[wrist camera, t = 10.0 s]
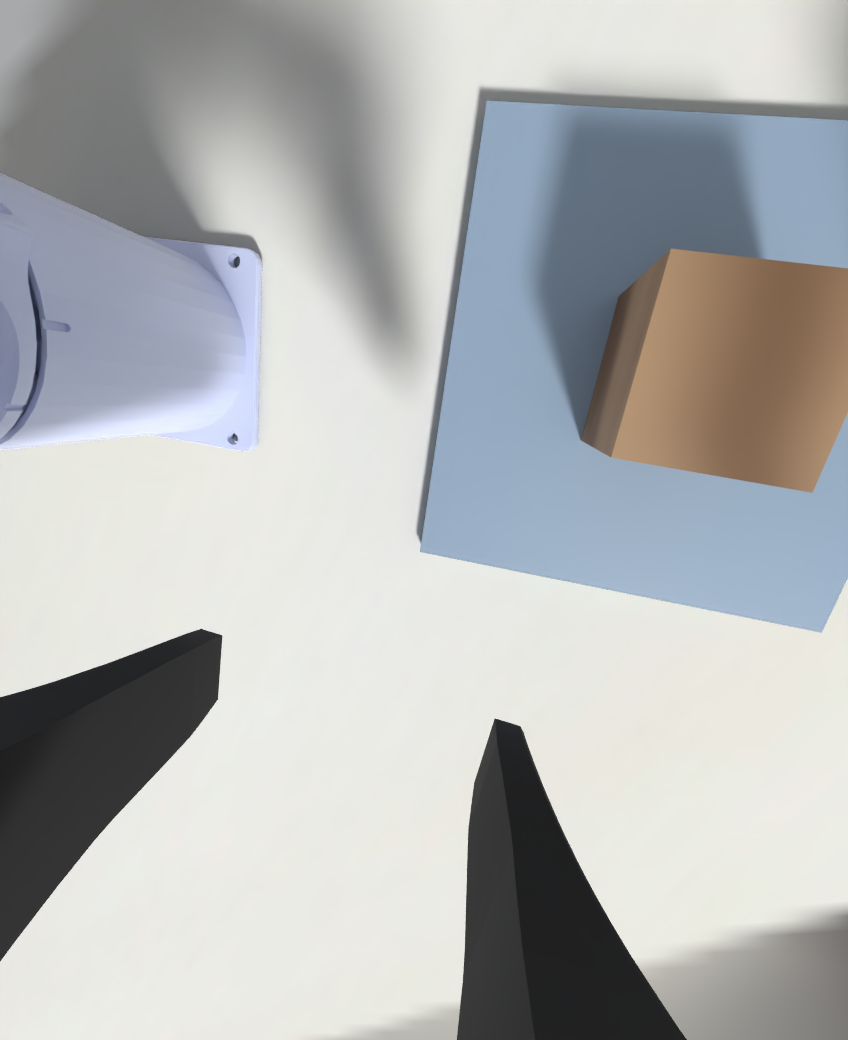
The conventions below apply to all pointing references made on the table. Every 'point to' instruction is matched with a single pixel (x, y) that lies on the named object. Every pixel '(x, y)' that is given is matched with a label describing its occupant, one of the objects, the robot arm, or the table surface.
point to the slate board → (581, 343)
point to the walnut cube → (726, 369)
